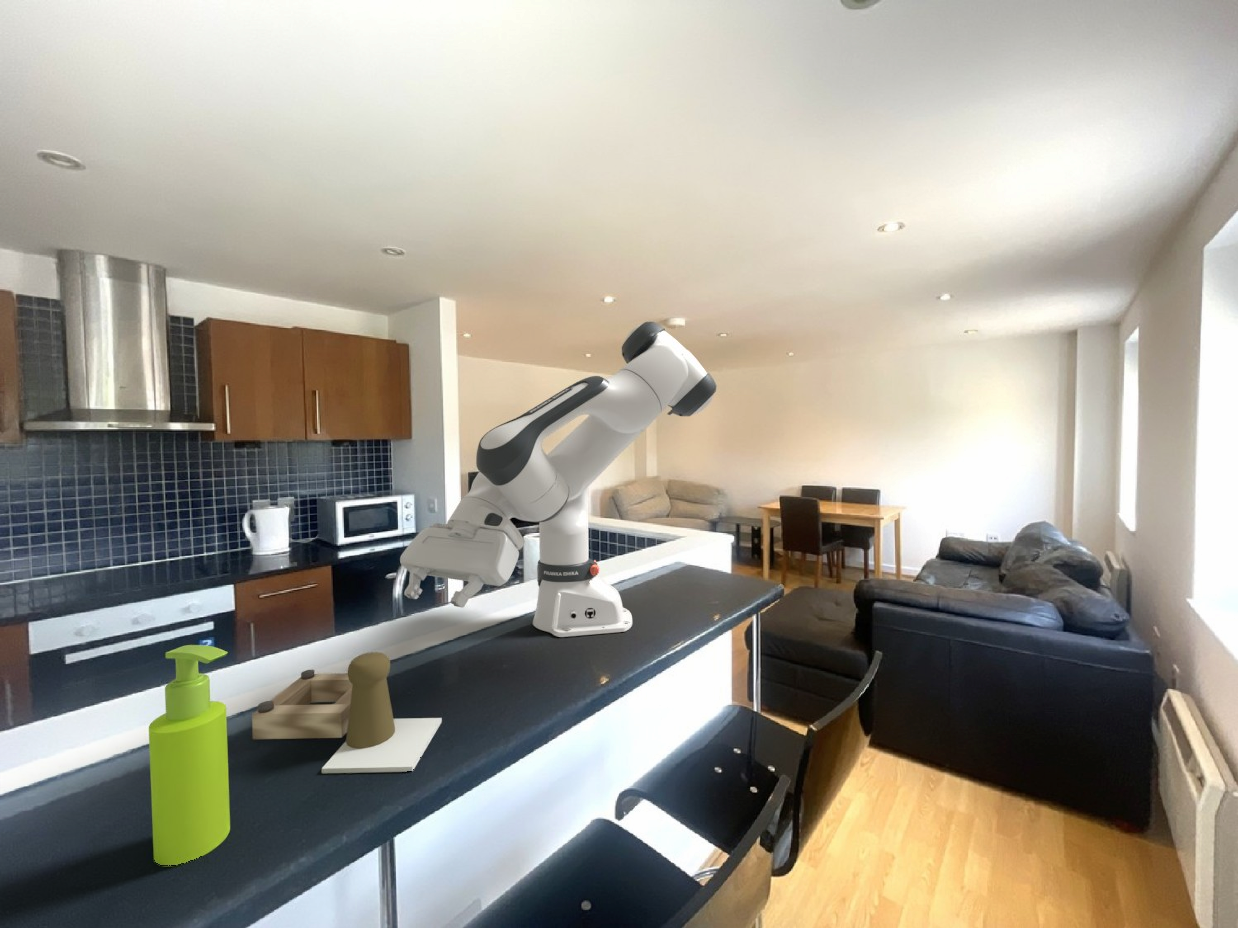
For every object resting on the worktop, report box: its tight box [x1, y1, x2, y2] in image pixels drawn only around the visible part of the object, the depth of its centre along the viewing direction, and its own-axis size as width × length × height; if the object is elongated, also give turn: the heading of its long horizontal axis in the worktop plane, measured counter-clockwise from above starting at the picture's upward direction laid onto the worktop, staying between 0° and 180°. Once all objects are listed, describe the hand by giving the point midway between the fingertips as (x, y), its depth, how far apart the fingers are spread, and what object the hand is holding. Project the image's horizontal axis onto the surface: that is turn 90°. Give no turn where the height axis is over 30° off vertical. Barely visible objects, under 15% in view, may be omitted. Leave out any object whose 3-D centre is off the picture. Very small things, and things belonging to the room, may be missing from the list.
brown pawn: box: [345, 651, 395, 749], centre depth 68 cm, size 6×6×11 cm
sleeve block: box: [251, 669, 353, 740], centre depth 74 cm, size 12×12×4 cm
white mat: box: [321, 717, 443, 774], centre depth 67 cm, size 11×11×1 cm
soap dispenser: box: [148, 644, 231, 867], centre depth 50 cm, size 6×7×20 cm
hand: (432, 600), depth 75 cm, fingers open, 8 cm apart
